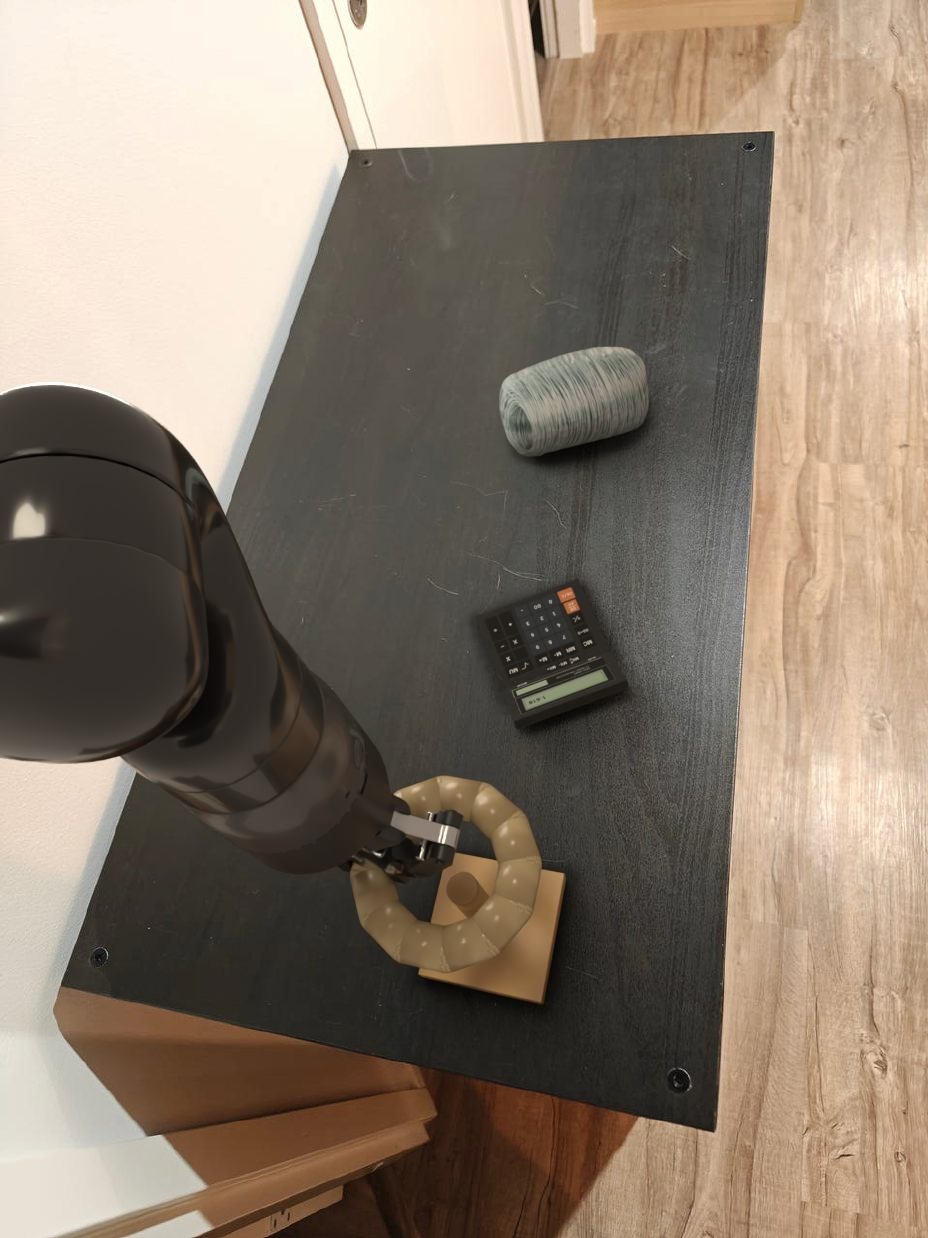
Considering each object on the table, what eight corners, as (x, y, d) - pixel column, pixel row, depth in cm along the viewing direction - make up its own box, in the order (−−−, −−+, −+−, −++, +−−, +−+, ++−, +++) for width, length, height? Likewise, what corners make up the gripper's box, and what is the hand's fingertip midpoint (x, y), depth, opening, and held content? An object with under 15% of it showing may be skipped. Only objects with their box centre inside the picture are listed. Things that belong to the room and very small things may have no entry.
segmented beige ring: (336, 950, 54) (323, 943, 52) (386, 771, 59) (376, 758, 56) (520, 993, 51) (514, 987, 49) (557, 801, 56) (553, 789, 54)
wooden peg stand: (422, 977, 69) (373, 947, 57) (450, 855, 73) (410, 804, 61) (543, 1005, 66) (518, 980, 55) (566, 878, 70) (547, 829, 59)
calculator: (578, 583, 82) (576, 566, 79) (630, 699, 76) (629, 684, 73) (476, 621, 82) (470, 604, 79) (520, 739, 76) (515, 726, 73)
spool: (502, 475, 84) (508, 365, 79) (491, 434, 92) (496, 331, 87) (652, 474, 85) (669, 366, 80) (628, 433, 93) (642, 332, 88)
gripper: (106, 820, 41) (254, 901, 56) (410, 882, 37) (481, 951, 52) (167, 664, 44) (292, 780, 59) (453, 707, 40) (509, 819, 55)
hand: (381, 860), depth 56 cm, fingers closed on segmented beige ring, 2 cm apart
